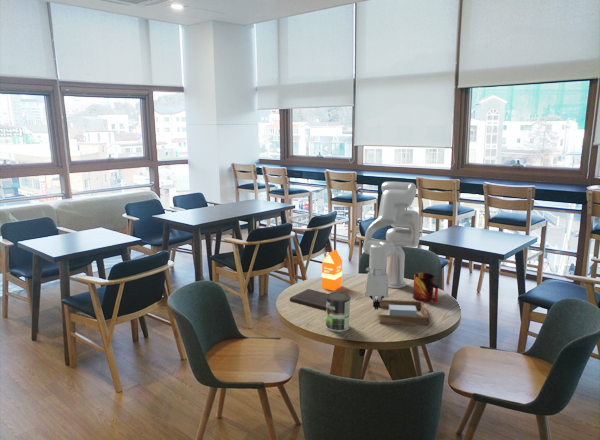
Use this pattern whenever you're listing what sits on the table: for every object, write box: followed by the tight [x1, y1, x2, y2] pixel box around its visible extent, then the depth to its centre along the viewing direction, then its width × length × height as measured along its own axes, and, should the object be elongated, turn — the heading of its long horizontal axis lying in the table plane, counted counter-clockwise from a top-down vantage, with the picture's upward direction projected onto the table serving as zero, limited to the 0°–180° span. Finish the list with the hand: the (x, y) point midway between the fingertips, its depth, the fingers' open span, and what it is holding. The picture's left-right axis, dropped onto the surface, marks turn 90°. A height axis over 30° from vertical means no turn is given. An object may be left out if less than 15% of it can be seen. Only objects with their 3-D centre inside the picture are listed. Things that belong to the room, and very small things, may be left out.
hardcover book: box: [289, 288, 328, 312], centre depth 233 cm, size 16×23×2 cm
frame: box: [379, 299, 430, 327], centre depth 215 cm, size 20×21×4 cm
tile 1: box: [388, 305, 403, 316], centre depth 216 cm, size 6×6×4 cm
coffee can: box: [325, 291, 351, 333], centre depth 202 cm, size 10×10×14 cm
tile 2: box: [402, 305, 418, 317], centre depth 215 cm, size 6×6×4 cm
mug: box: [412, 272, 439, 304], centre depth 235 cm, size 10×14×12 cm
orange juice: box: [321, 249, 343, 291], centre depth 252 cm, size 8×9×20 cm
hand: (376, 308), depth 217 cm, fingers closed
